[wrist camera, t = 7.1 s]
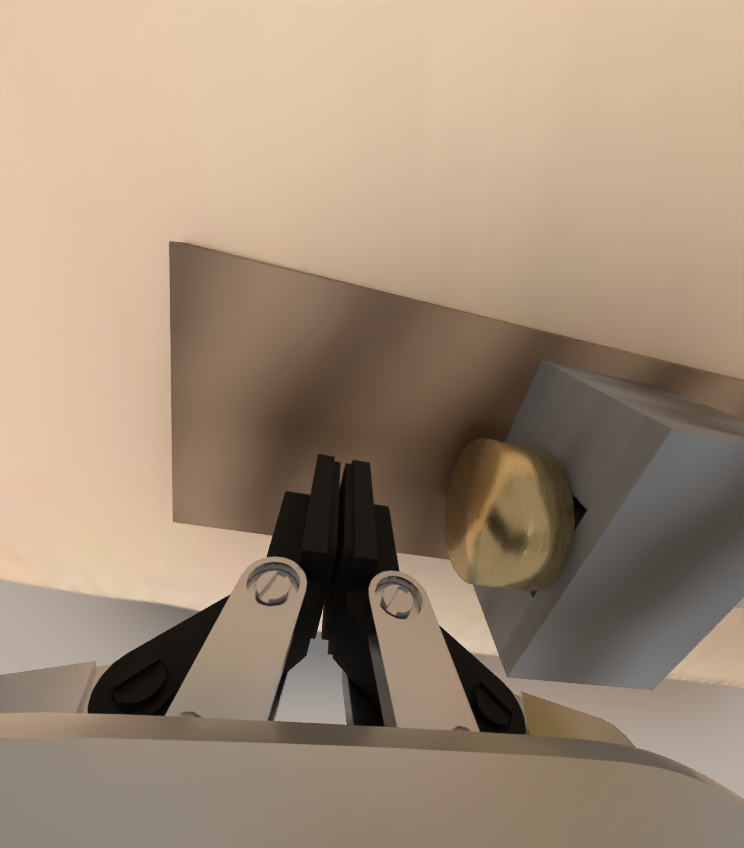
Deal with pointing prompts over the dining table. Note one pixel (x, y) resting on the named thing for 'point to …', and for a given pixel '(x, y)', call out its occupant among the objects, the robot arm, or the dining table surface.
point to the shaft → (510, 516)
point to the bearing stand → (448, 437)
